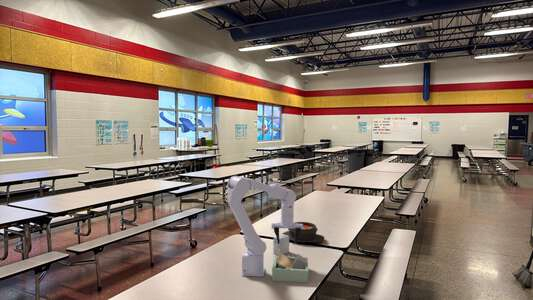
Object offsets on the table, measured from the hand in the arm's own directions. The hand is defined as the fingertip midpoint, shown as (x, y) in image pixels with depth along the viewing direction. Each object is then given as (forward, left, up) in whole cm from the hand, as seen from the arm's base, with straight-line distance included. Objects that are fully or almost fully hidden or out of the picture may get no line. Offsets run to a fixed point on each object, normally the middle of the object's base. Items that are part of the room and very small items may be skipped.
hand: (287, 243), depth 150 cm
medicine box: (-3, +15, -11) cm, 19 cm away
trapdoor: (0, -9, -8) cm, 12 cm away
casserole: (+8, +37, -11) cm, 39 cm away
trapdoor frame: (+2, -9, -10) cm, 14 cm away
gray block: (+4, -9, -7) cm, 13 cm away
